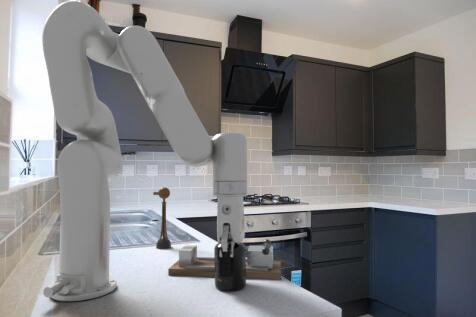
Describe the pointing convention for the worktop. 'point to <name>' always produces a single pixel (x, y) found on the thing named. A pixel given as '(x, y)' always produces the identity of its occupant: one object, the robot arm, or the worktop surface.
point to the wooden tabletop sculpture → (163, 220)
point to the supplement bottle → (240, 270)
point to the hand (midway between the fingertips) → (230, 269)
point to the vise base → (206, 266)
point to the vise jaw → (260, 256)
